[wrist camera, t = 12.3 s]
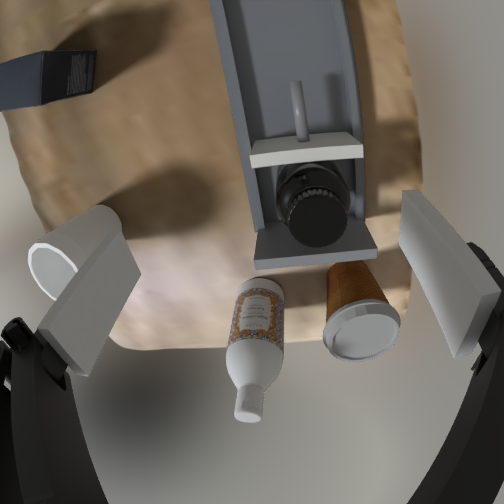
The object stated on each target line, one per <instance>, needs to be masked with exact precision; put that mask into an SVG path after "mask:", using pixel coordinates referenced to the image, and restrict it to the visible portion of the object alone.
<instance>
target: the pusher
mask: <svg viewBox="0 0 504 504" xmlns="http://www.w3.org/2000/svg"><path fill="white" fill-rule="evenodd" d="M289 86H290V92H291V99H292V105H293V112H294V119H295V126H296V133H297V135H296V136H287V137H279V138H271V139H263V140H256V141H255V143H254V145H253V148H252V150H251V153H250V155H249V156H250V162H251V167H252V168H258V167H266V166H274V165H282V164H291V163H301V162H311V161H322V160H335V159H349V158H364V157H363V144H361V143H360V142H359V141H358V140H356V139H355V138H354V137H353V136H351V135H350V134H349V133H348V132H331V133H318V134H309V129H308V121H307V114H306V106H305V99H304V93H303V86H302V81H294V82H289Z"/></svg>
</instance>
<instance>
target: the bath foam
mask: <svg viewBox="0 0 504 504" xmlns="http://www.w3.org/2000/svg"><path fill="white" fill-rule="evenodd" d="M283 356H284V293H283V291H282V289H281V287H280V286H279V285H278V284H277V283H275V282H273V281H271V280H269V279H264V278H255V279H251V280H248V281H247V282H245V283H244V284H242V286H241V287H240V288H239V290H238V294H237V299H236V304H235V309H234V314H233V319H232V325H231V330H230V335H229V341H228V346H227V351H226V363H227V369H228V372H229V375H230V376H231V379H232V380H233V382H234V384H235V385H236V387H237V389H238V394H237V399H236V407H235V414H234V415H235V417H236V419H238V420H240V421H243V422H249V423H251V422H252V423H253V422H258V421H260V420H261V419H262V413H263V401H264V392H265V391H266V389H267V388H268V387H269V386H270V385H271V384H272V383H273V382H274V381H275V379H276V378H277V376H278V375H279V372H280V370H281V367H282V363H283Z"/></svg>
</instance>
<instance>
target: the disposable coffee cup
mask: <svg viewBox="0 0 504 504" xmlns="http://www.w3.org/2000/svg"><path fill="white" fill-rule="evenodd" d="M399 328H400V316H399V314H398V312H397V311H396V310H395V308H393V307H392V306H391V305H390V304H389V302H388V300H387V299H386V297H385V295H384V294H383V292H382V290H381V289H380V287H379V285H378V283H377V282H376V280H375V278H374V277H373V275H372V273H371V272H370V270H369V268H368V266H367V265H366V264H365V263H364V262H363V261H361V260H356V261H346V262H337V263H336V264H334V265H333V266H332V267H331V269H330V270H329V272H328V275H327V315H326V325H325V328H324V331H323V341H324V344H325V346H326V347H327V348H328V349H329V351H330V353H331V354H332V355H333V356H334V357H336V358H338V359H340V360H343V361H347V362H359V361H366V360H370V359H373V358H375V357H378V356H379V355H381V354H383V353H385V352H386V351H387V350H389V349H390V348H391V347H392V346H393V345H394V343H395V342H396V340H397V338H398V336H399Z"/></svg>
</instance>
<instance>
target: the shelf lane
mask: <svg viewBox="0 0 504 504" xmlns="http://www.w3.org/2000/svg"><path fill="white" fill-rule="evenodd" d="M209 1H210V5H211V10H212V15H213V20H214V25H215V30H216V35H217V40H218V45H219V50H220V55H221V60H222V65H223V70H224V75H225V80H226V85H227V90H228V95H229V100H230V105H231V110H232V115H233V120H234V125H235V130H236V135H237V141H238V146H239V151H240V156H241V161H242V166H243V171H244V177H245V182H246V187H247V192H248V198H249V203H250V208H251V213H252V219H253V224H254V229H255V232H258V235H257V241H256V248H255V255H254V264H255V269H256V270H261V269H272V268H283V267H294V266H305V265H316V264H326V263H336V262H346V261H356V260H366V259H375V258H377V250H378V248H377V246H376V244H375V242H374V240H373V238H372V236H371V234H370V232H369V230H368V228H367V226H366V224H365V159H364V158H349V159H335V160H333V161H334V163H335V165H336V166H337V168H338V170H339V171H340V173H341V175H342V177H343V179H344V180H345V182H346V184H347V186H348V189H349V192H350V197H351V205H350V210H349V213H348V215H347V218H348V220H347V226H346V230H345V231H344V233H343V235H342V236H341V237H340V239H338V240H337V241H336V242H335V243H332V244H331V245H327V246H326V247H321V248H318V247H316V248H313V247H308V246H305V245H303V244H302V243H299V242H298V241H297V240H295V238H294V236H292V235H291V232H290V231H289V228H288V227H287V226H286V225H285V224H284V223H283V222H282V220H281V219H280V217H279V215H278V212H277V209H276V178H277V169H278V165H274V166H266V167H258V168H252V167H251V162H250V156H249V155H250V153H251V150H252V148H253V145H254V143H255V141H256V140H263V139H271V138H279V137H287V136H296V135H297V133H296V126H295V119H294V112H293V105H292V99H291V92H290V86H289V82H294V81H302V86H303V93H304V99H305V106H306V114H307V121H308V129H309V134H318V133H331V132H348V133H349V134H350V135H351V136H353V137H354V138H355V139H356V140H358V141H359V142H360V143H361V144H363V157H364V140H363V126H362V114H361V103H360V94H359V85H358V78H357V70H356V63H355V57H354V51H353V45H352V39H351V33H350V28H349V23H348V18H347V14H346V9H345V5H344V0H209Z"/></svg>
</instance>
